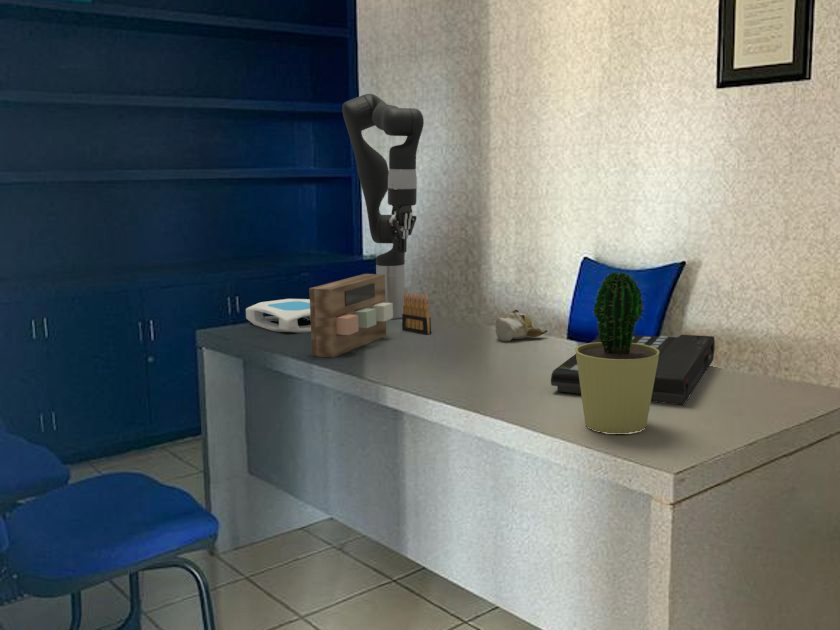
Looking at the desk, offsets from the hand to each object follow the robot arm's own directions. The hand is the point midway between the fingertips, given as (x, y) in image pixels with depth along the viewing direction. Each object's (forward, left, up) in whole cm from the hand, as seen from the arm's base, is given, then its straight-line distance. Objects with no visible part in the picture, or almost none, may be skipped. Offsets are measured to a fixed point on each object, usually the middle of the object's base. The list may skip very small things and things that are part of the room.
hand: (401, 252), depth 228 cm
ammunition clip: (-16, -18, -27) cm, 36 cm away
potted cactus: (+6, +81, -27) cm, 86 cm away
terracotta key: (+15, -6, -21) cm, 26 cm away
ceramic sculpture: (-33, +9, -27) cm, 43 cm away
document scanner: (+6, -54, -27) cm, 60 cm away
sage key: (+6, -11, -21) cm, 24 cm away
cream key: (-3, -16, -21) cm, 26 cm away
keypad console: (+8, -14, -26) cm, 31 cm away
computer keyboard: (-27, +58, -27) cm, 69 cm away
